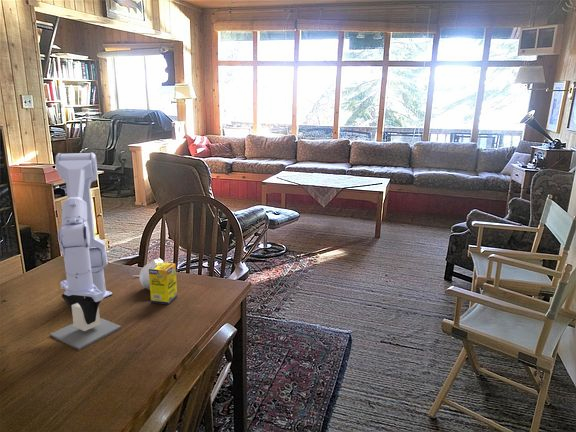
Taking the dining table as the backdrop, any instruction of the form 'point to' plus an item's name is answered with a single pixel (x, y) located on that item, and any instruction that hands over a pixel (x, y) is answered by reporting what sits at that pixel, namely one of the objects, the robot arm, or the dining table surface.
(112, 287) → the dining table surface
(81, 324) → the cream block
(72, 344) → the gray mat
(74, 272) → the robot arm
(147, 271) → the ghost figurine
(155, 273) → the supplement box
